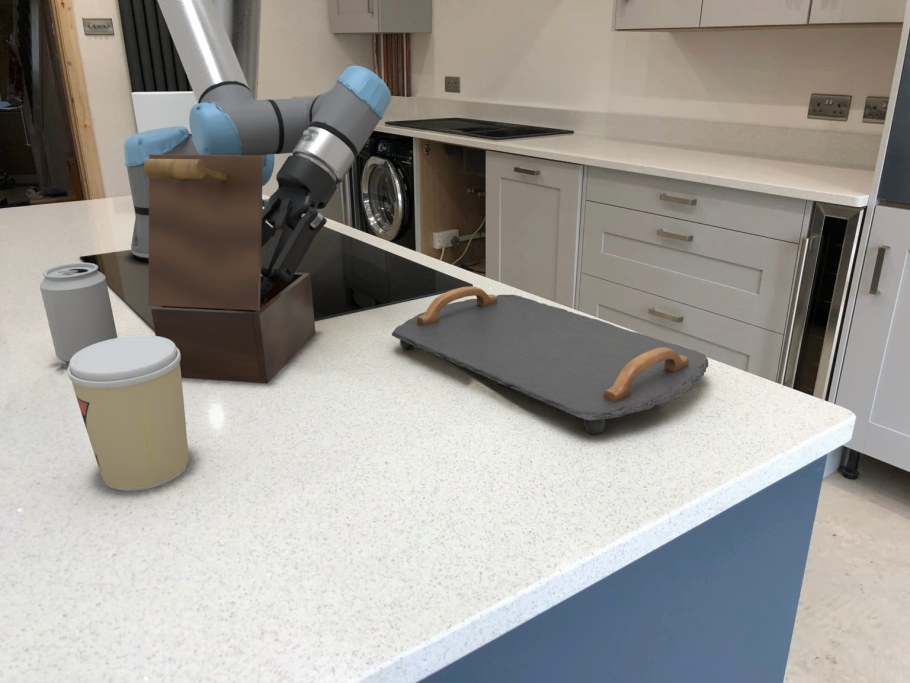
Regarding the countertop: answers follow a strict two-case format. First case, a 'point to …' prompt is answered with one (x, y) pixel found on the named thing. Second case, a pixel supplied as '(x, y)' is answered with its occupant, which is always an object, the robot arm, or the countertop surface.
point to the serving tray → (554, 354)
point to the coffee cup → (133, 409)
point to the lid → (205, 231)
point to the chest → (241, 334)
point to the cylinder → (162, 109)
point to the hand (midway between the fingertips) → (221, 315)
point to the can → (77, 308)
